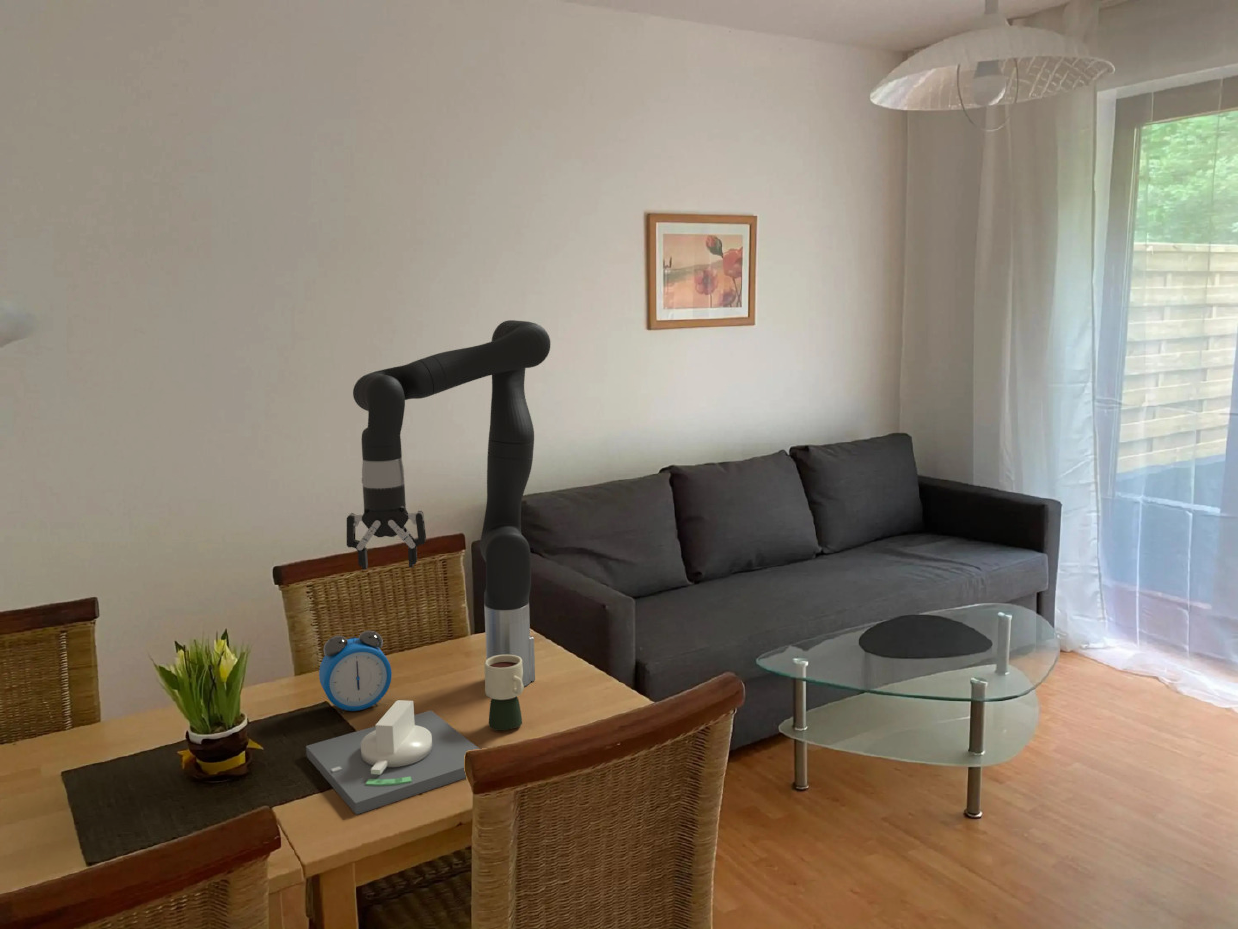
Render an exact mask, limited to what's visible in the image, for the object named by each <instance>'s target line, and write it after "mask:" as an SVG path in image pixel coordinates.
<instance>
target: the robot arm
mask: <svg viewBox="0 0 1238 929" xmlns="http://www.w3.org/2000/svg"><path fill="white" fill-rule="evenodd" d="M550 350H551V339H550V335H549V334H548V331H546V329H545V328H544V327H543V326H542V325H539V323H535V322H531V321H526V320H525V321H524V320H515V319H514V320H511V319H510V320H504V321H502V322H500V323H499V324H498V325H497V326H496V328H495V329H494V330H493V332H492V338H491V341H489V342H485V343H482V344H479V345H473V346H469V347H462V348H459V349H458V348H457V349H453V350H447V351H442V352H439V353H436V354H431V355H430V356H426V357H423V358H420V359H417V360H414V361H412V362H410V363H407V364H404V365H398V366H394V367H389V368H383V369H379V370H376V371H373V372H369V373H367V374H364V375H363V376H362V377H360V378H358V380H357V381H356V382H355V384H354V385H353V389H352V390H353V391H352V397H353V400H354V402H355V404H356V405H357V406H358V407H359V408H361V409H362V410H364V411H366V412H367V414H368V416H367V417H368V418H367V427H366V428H364V429H363V430H362V432H361V454H362V457H361V458H362V464H361V466H362V467H361V483H362V496H363V514H355V513H353V512H351V513H349V514H348V516H346V546H347V548H352V549H355V550H356V551H357V562H358V566H359V567H361V568H362V570H364V571H365V570H367V569H368V567H369V563H368V547H366V546H367V544H368V543H369V541H370V540H371V538H373V536H374V537H377V538H385V537H389V538H390V537H391V538H394V537H396V536H398V537H399V538H400V539H401V541H403V542H404V543H405V544H406V545H407V546H408V548H407V555H408V557H407V558H408V567H409V568H414V566H415V565H417V564H416V563H417V561H418V549H417V548H418V547H419V546H421V545H424V544H425V543H426V541H427V535H426V534H427V533H426V525H425V516H424V514H425V513H424V512H423V511H422V510H418V511H417V512H410V513H409V512H408V510H407V506H406V491H405V490H406V489H405V488H406V487H405V486H406V485H405V471H404V470H405V469H404V464H403V458H402V456H403V455H402V454H403V453H402V439H401V434H402V433H401V432H402V428H403V424H404V416H405V410H406V409H405V407H406V401H407V400H413V399H415V400H418V399H419V400H420V399H424V398H428V397H430V396H433V395H437V394H439V393H443V392H445V391H447V390H451V389H453V388H456V387H458V386H461V385H465V384H467V383H470V382H473V381H476V380H479V379H482V378H485V377H489V376H491V400H490V401H491V403H490V418H489V420H490V421H489V422H490V423H489V432H488V443H487V458H486V459H487V460H486V462H487V466H486V467H487V468H486V495H487V496H486V505H485V506H486V507H485V514H484V517H483V518H484V519H483V524H482V530H481V535H480V543H479V551H480V554H481V558H482V559H483V560H484V562H485V574H486V577H485V580H486V581H485V582H486V583H485V584H486V588H485V590H484V594H483V602H484V603H483V604H484V628H485V630H484V631H485V653H486V654H485V655H486V660H487V659H488V658H490V657H493V656H497V655H515V656H519V657H520V658H521V659H522V667H523V677H522V683H523V686H524V687H526V686H528V685H529V684H531V681H532V682H534V681H536V665H535V663H536V662H535V660H536V659H535V639H534V638H535V637H533V636H532V635H531V629H530V627H531V626H530V624H531V622H530V594H531V593H530V592H531V588H532V562H531V561H532V559H531V558H532V557H531V556H532V555H531V548H530V543H529V541H528V540H527V539H526V537H524V535H522V525H521V524H522V521H521V519H522V518H521V516H522V514H521V513H522V504H523V503H522V501H523V496H524V494H525V493H524V492H525V491H526V490H525V489H526V488H527V485H528V481H529V478H530V475H531V471H532V467H533V466H532V465H533V461H534V460H533V458H534V445H535V430H534V425H533V420H532V417H531V413H530V410H529V407H528V403H527V399H526V393H525V378H526V377H525V376H526V369H530V368H531V369H532V368H534V367H537V366H539V365H540V364H542V363H543V362H544V361H545V360H546V359H547V358H548V355H549V353H550ZM409 520H410V521H411V523H412V524H413V525H414V526H415V525H416V531H417V532H416V533H417V537H414V536H413V535H412V534H411V533H410V530H409V529H408V528H407V527H406V524H407V523H408V521H409ZM361 522H362V523H363V524H364V526H365V527H366V528H367V531H366V532H365V534H364V535H363V536H362V538H361V540H358V539H356V527H358V526H359V525H360V523H361ZM486 660H485V661H486Z"/></svg>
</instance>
